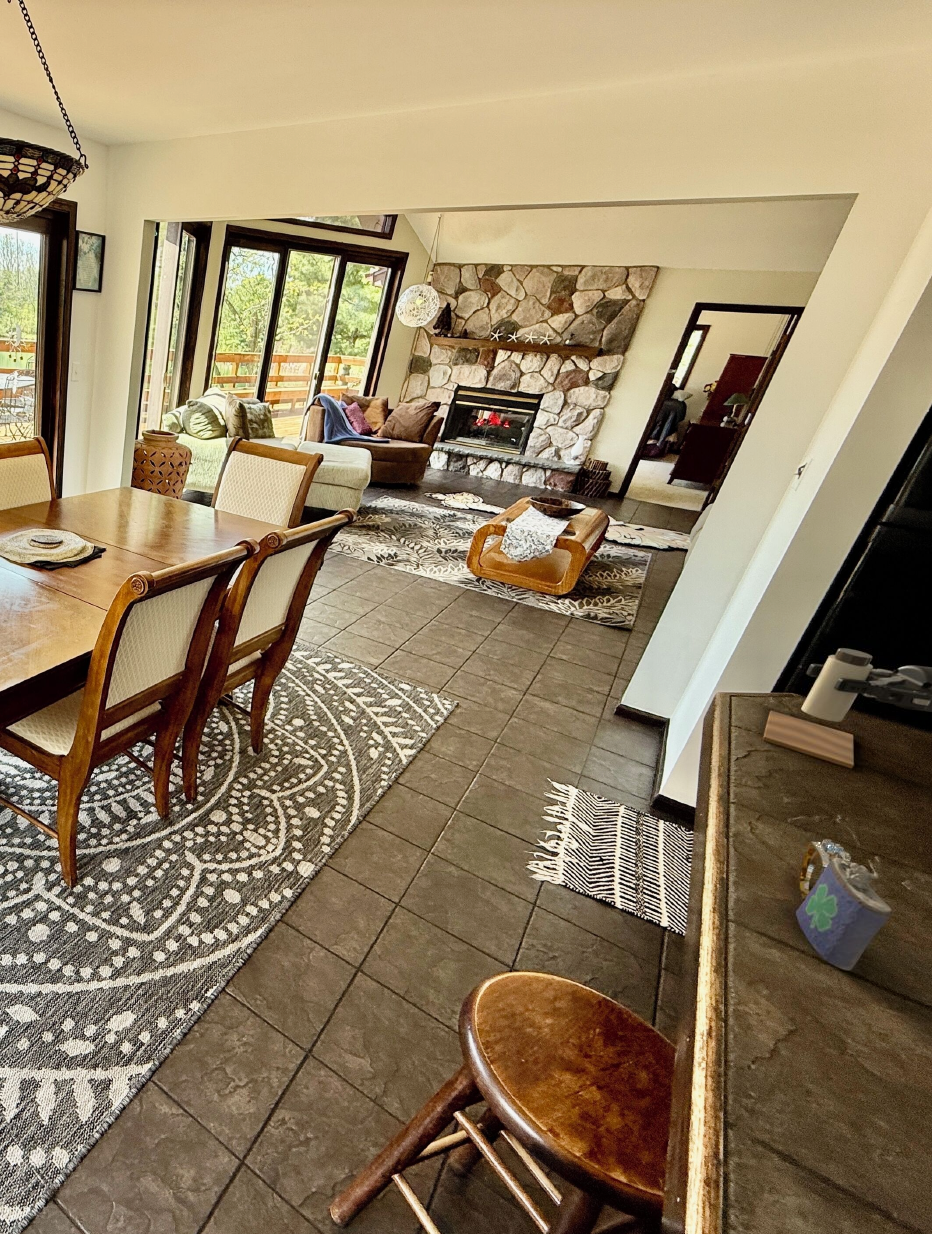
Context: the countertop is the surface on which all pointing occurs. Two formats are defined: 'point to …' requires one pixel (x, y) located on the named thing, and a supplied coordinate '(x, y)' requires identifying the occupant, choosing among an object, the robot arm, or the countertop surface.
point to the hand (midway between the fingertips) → (824, 676)
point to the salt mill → (823, 694)
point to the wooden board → (810, 739)
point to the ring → (809, 861)
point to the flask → (842, 913)
